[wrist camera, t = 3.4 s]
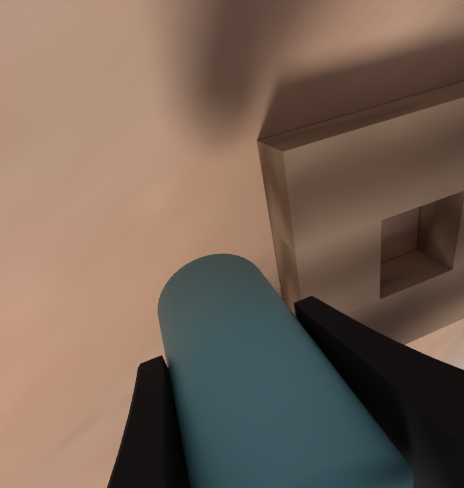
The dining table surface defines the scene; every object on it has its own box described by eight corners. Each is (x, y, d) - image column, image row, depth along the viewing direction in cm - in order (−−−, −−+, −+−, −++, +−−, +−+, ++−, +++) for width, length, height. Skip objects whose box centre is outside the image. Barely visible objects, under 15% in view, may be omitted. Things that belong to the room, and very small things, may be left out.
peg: (273, 324, 13) (407, 528, 7) (176, 363, 12) (236, 624, 6) (256, 237, 11) (421, 419, 5) (140, 278, 10) (177, 543, 4)
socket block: (463, 281, 28) (499, 302, 25) (291, 354, 25) (311, 385, 22) (503, 69, 20) (561, 68, 17) (257, 140, 17) (282, 151, 14)
